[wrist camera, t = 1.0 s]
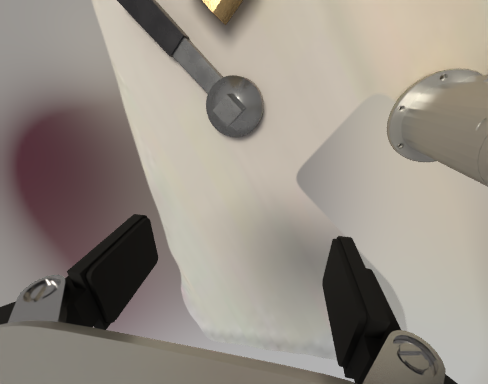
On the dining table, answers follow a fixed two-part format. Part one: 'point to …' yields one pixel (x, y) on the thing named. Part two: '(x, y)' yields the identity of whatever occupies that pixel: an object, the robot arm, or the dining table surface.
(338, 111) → the dining table surface
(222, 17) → the brass-coloured cube
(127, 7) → the ratchet
